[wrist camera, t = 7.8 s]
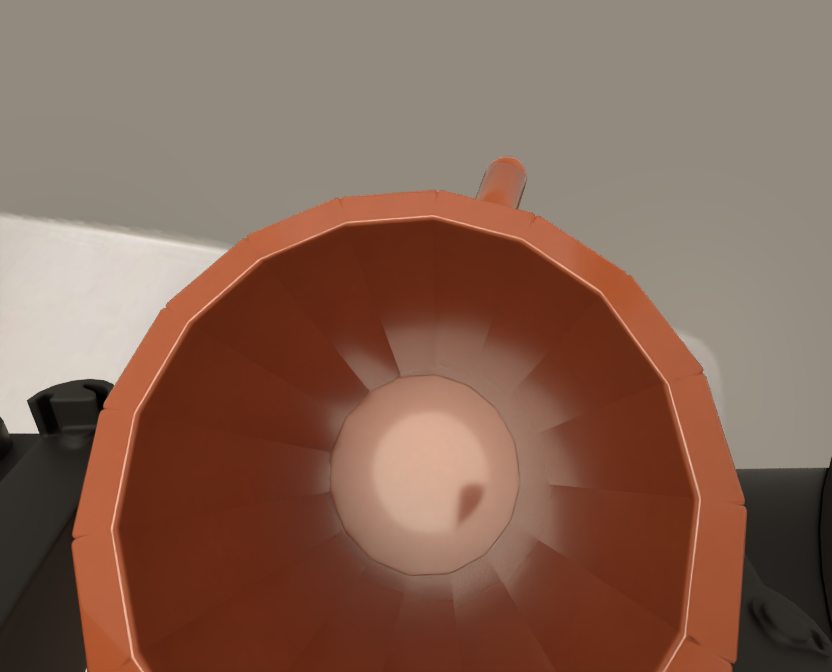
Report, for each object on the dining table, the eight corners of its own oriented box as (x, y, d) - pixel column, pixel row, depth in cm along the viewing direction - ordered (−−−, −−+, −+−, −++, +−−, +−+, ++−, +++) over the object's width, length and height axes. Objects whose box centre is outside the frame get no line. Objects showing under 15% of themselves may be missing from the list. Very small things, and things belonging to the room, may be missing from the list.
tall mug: (498, 629, 13) (706, 1159, 3) (285, 537, 15) (-76, 688, 4) (568, 337, 17) (776, 120, 6) (390, 284, 18) (327, 34, 8)
